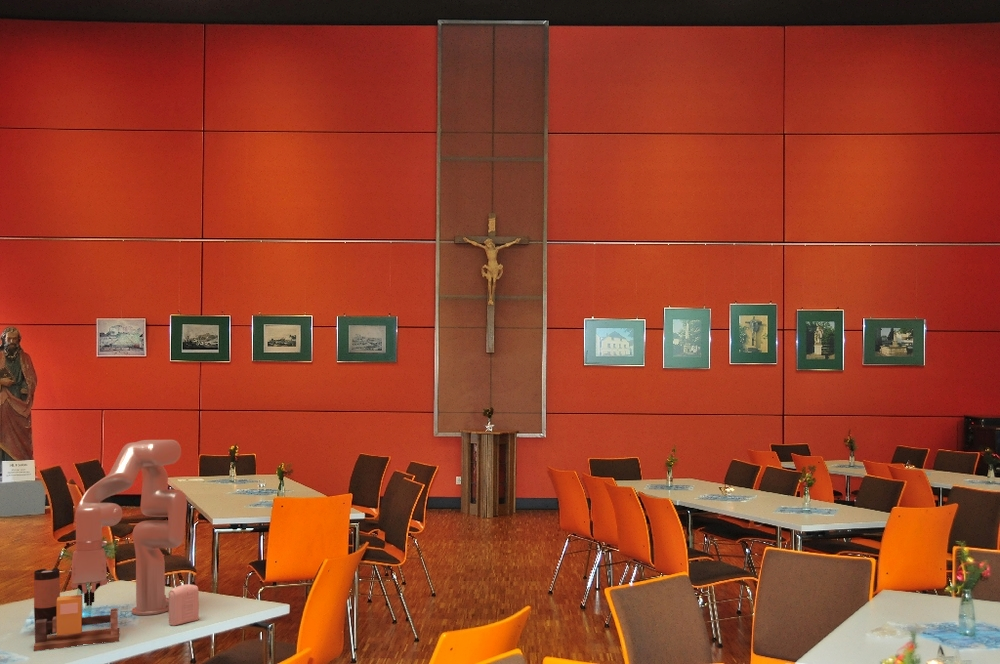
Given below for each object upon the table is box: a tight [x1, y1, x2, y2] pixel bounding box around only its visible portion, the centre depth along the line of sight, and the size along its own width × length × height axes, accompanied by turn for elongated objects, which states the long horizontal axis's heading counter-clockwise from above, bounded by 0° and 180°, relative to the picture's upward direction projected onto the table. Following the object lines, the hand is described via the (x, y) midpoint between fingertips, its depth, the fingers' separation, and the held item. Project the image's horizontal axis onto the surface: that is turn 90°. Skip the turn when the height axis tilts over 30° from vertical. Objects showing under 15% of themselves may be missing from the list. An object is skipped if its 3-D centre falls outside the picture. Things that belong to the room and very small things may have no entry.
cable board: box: [33, 607, 120, 652], centre depth 301 cm, size 24×12×8 cm, turn 111°
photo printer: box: [168, 583, 200, 626], centre depth 322 cm, size 10×4×12 cm, turn 144°
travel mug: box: [33, 567, 61, 635], centre depth 313 cm, size 8×8×20 cm
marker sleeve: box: [56, 594, 83, 635], centre depth 300 cm, size 7×6×11 cm
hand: (89, 604), depth 302 cm, fingers closed
